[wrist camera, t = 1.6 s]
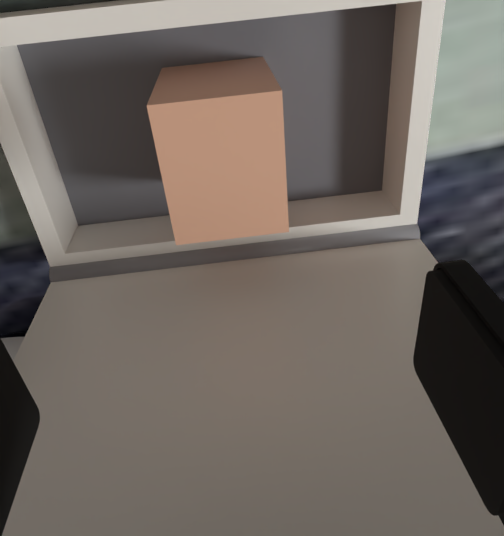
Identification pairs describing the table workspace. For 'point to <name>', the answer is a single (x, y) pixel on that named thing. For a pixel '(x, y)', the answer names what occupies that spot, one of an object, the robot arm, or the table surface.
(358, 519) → the case
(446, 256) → the table surface
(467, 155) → the table surface
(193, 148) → the block
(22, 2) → the table surface
